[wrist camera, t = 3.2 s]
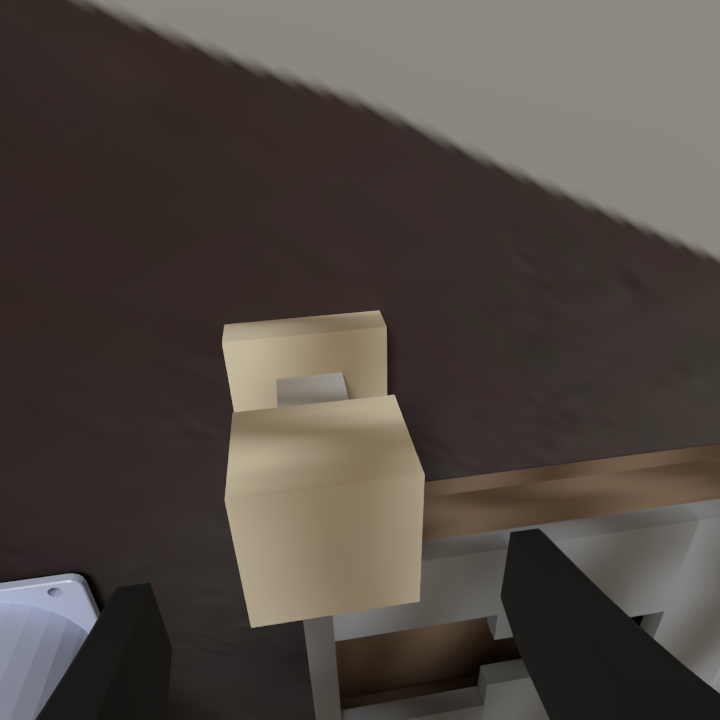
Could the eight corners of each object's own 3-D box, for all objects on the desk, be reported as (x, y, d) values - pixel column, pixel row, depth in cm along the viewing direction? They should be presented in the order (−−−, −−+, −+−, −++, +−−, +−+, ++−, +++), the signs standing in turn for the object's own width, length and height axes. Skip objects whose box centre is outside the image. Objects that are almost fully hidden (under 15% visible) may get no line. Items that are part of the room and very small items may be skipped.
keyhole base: (316, 693, 27) (323, 777, 24) (292, 499, 20) (298, 579, 17) (652, 635, 29) (699, 705, 26) (728, 442, 22) (802, 505, 19)
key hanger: (245, 448, 19) (236, 641, 13) (224, 324, 16) (200, 487, 10) (380, 432, 19) (435, 609, 13) (379, 310, 17) (444, 457, 11)
